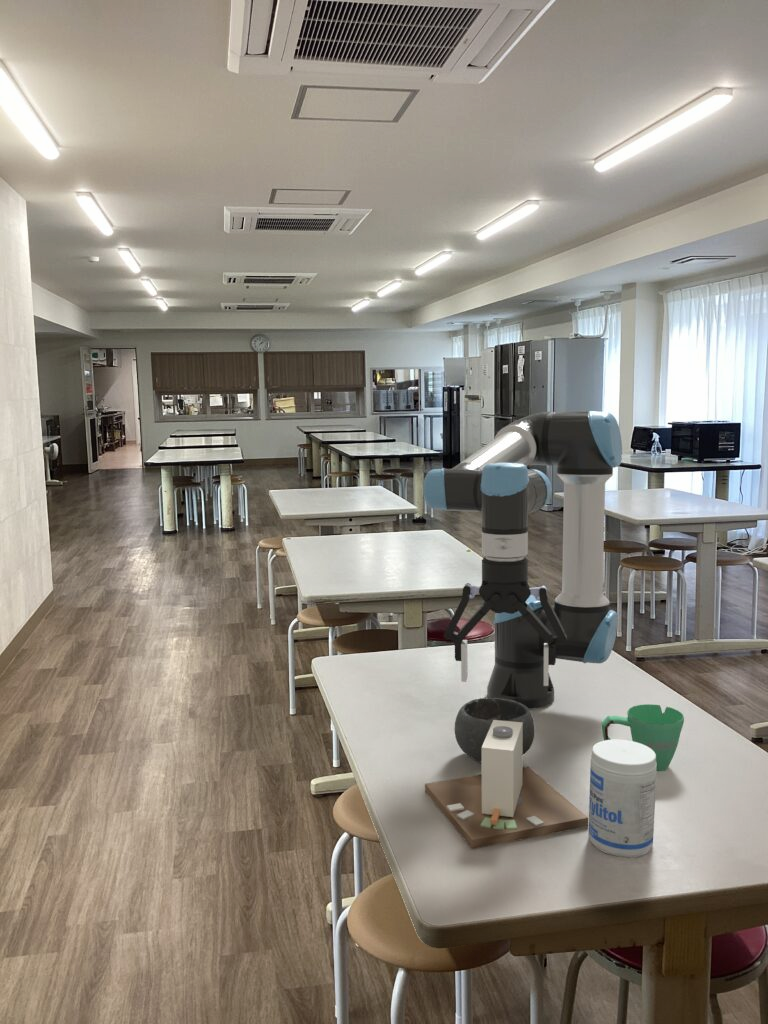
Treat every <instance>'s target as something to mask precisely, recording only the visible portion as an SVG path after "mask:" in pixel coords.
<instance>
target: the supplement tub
mask: <svg viewBox="0 0 768 1024" xmlns="http://www.w3.org/2000/svg"><path fill="white" fill-rule="evenodd" d="M656 766H657V763H656V754H655V752H654V751H653V750H652V749H651V748H649V747H647V746H645V745H643V744H640V743H637V742H633V741H632V740H629V739H617V738H616V739H613V738H612V739H611V740H605V741H604V740H602V741H599V742H596V743H595V744H594V745H593V746H592V750H591V757H590V768H589V774H590V775H589V797H588V798H589V799H588V800H589V801H588V802H589V805H588V833H587V834H588V839H589V840H590V842H591V844H592V845H593V846H594V847H595V848H597V849H598V850H600V851H602V852H603V853H606V854H608V855H612V856H617V857H621V858H622V857H623V858H637V857H640V856H643V855H645V854H647V853H649V852H650V850H651V849H653V845H654V834H655V833H654V832H655V831H654V830H655V829H654V828H655V809H656V788H657V772H656Z"/></svg>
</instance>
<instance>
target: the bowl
mask: <svg viewBox="0 0 768 1024" xmlns="http://www.w3.org/2000/svg"><path fill="white" fill-rule="evenodd" d="M533 717H534V716H533V715H532V712H531V709H528V708H527V707H526V706H525V705H523V704H521V703H519V702H516V701H513V700H508V699H499V698H487V697H483V698H476V699H471V700H470V701H468V702H466V703H464V704H463V705H462V706H461V707H460V709H459V711H458V712H457V715H456V717H455V722H454V736H455V740H456V743H457V744H458V746H459V748H460V750H461V751H462V752H463V753H464V754H465V755H467V756H468V757H469V758H471V759H473V760H474V761H477V762H479V763H482V745H483V743H484V741H485V738H486V736H487V734H488V731H489V729H490V727H491V724H492V722H493V720H501V721H512V722H523V756H524V755H525V754H526V753H528V751H529V750H530V749H531V747H532V745H533V743H534V740H535V732H536V729H535V720H534V718H533Z"/></svg>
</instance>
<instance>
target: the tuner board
mask: <svg viewBox="0 0 768 1024" xmlns="http://www.w3.org/2000/svg"><path fill="white" fill-rule="evenodd" d="M424 792H425V794H426V795H427V796H428V797H429V798H430V800H431V802H433V804H434V805H435V806H436V807H437V808H438V809H439V811H440V812H441V813H442V814H443V815H444V817H445V818H446V819H447V820H448V822H449V823H450V824H451V825H452V826H453V828H454V829H455V831H456V832H458V834H459V835H460V836H461V838H462V839H463V840H464V841H465V842H466V844H467V845H468V846H469V847H470V848H471V850H475V849H481V848H484V847H491V846H495V845H496V846H497V845H500V844H502V845H503V844H507V843H511V842H515V841H521V840H526V839H532V838H536V837H542V836H547V835H551V834H556V833H562V832H568V831H573V830H577V829H578V830H579V829H583V828H589V816H587V815H586V814H585V813H583V811H581V809H579V808H578V807H577V806H576V805H574V804H573V803H572V802H570V800H568V799H567V798H566V797H565V796H564V795H562V794H561V793H560V792H559V791H558V790H557V789H555V788H554V787H553V786H552V785H551V784H550V783H548V782H547V781H546V780H545V779H544V778H543V777H541V775H540V774H538V773H537V772H535V770H533V769H532V768H531V767H530V766H523V776H522V787H521V791H520V794H519V798H518V802H517V805H516V809H515V812H514V816H513V817H507V816H499V818H498V819H499V820H515V823H516V826H517V829H508V830H507V829H506V826H505V824H504V829H493V826H494V824H493V825H492V827H491V828H487V827H482V826H481V823H482V821H483V820H484V818H485V817H486V818H491V817H492V815H491V814H483V813H482V773H481V774H480V773H479V774H476V775H469V776H464V777H457V778H452V779H451V778H450V779H444V780H439V781H432V782H427V783H424ZM458 803H461V805H462V806H463V807H464V809H463V810H457V811H452V812H450V811H449V809H448V808H447V805H453V804H458ZM466 810H468V811H470V812H472V813H474V816H472V817H470V818H468V819H465V820H462V819H460V818H458V817H457V814H459V813H462V812H464V811H466ZM531 816H536V817H537V818H539V819H540V820H542V821H543V822H544V824H542V825H539V826H534V825H533V824H532V823H530V822H529V821H527V820H526V818H528V817H531Z"/></svg>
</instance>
